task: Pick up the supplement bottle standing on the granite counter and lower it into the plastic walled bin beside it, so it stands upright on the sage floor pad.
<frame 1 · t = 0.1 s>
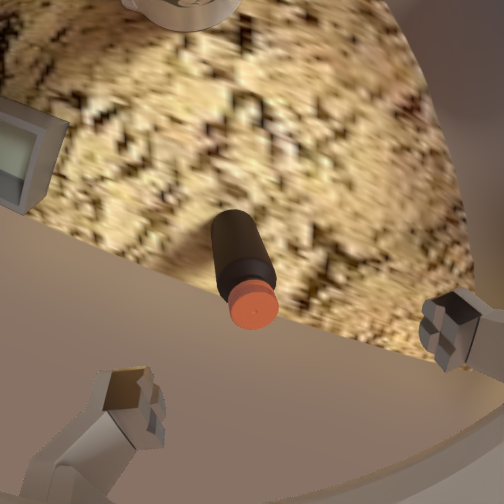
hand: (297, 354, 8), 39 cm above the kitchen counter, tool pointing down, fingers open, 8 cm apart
vinegar: (232, 228, 49), on the kitchen counter
walled bin: (16, 143, 36), on the kitchen counter
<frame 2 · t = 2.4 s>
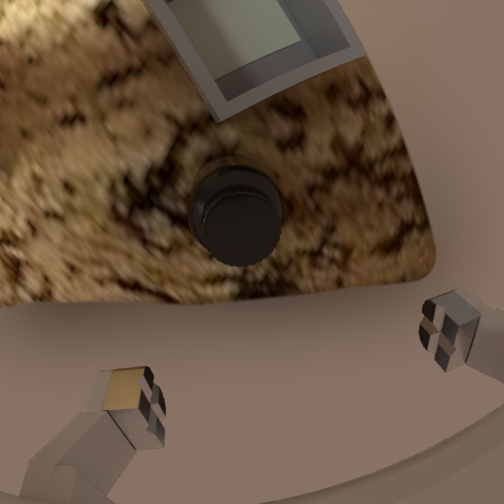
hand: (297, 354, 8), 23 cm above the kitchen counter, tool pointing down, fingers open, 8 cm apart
supplement bottle: (228, 189, 30), on the kitchen counter
walled bin: (232, 22, 24), on the kitchen counter
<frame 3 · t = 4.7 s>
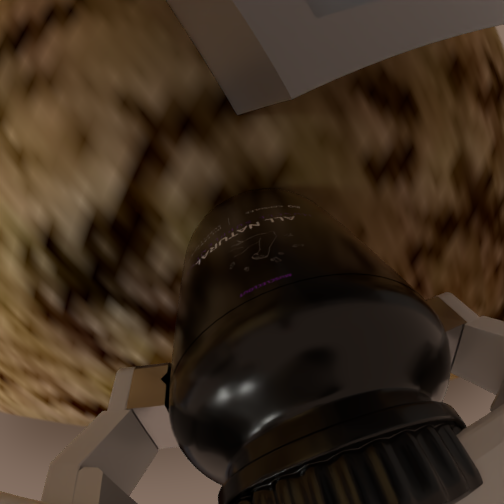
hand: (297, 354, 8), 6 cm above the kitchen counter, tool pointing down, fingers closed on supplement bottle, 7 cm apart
supplement bottle: (261, 261, 14), on the kitchen counter, touching gripper
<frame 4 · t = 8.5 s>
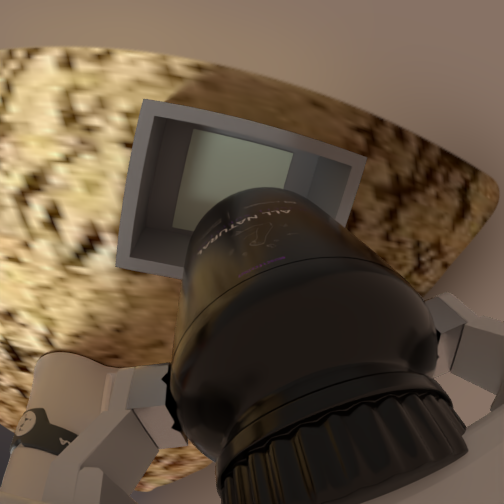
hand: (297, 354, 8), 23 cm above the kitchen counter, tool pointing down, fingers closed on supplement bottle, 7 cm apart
supplement bottle: (259, 257, 15), point 16 cm above the kitchen counter, touching gripper
walled bin: (230, 187, 29), on the kitchen counter
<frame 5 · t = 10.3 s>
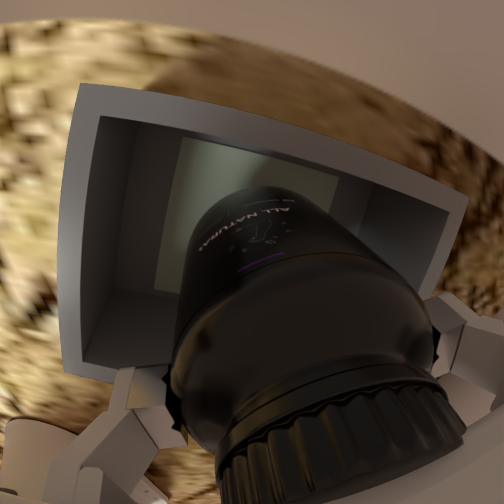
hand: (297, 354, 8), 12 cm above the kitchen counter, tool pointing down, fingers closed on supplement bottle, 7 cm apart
supplement bottle: (258, 255, 15), point 5 cm above the kitchen counter, touching gripper
walled bin: (241, 227, 19), on the kitchen counter
when the fingers open (9 cm above the kitchen counter, at t = 12.0 s): supplement bottle stays where it is, resting on walled bin.
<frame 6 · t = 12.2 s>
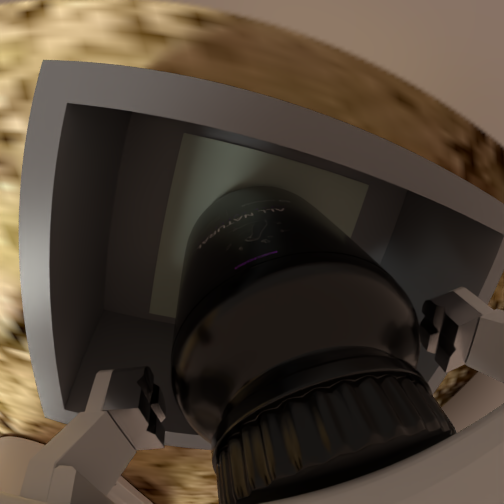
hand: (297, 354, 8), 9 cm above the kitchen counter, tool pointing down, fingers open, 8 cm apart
supplement bottle: (255, 253, 15), point 1 cm above the kitchen counter, touching walled bin
walled bin: (253, 241, 16), on the kitchen counter
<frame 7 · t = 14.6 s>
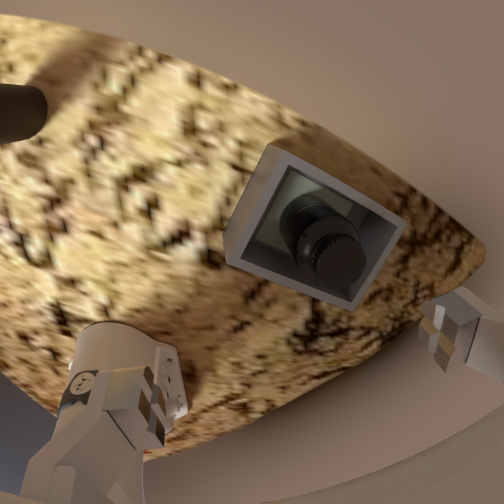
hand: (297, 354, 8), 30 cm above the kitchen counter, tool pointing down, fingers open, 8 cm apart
supplement bottle: (304, 221, 38), point 1 cm above the kitchen counter, touching walled bin
vinegar: (27, 113, 29), on the kitchen counter
walled bin: (303, 217, 39), on the kitchen counter
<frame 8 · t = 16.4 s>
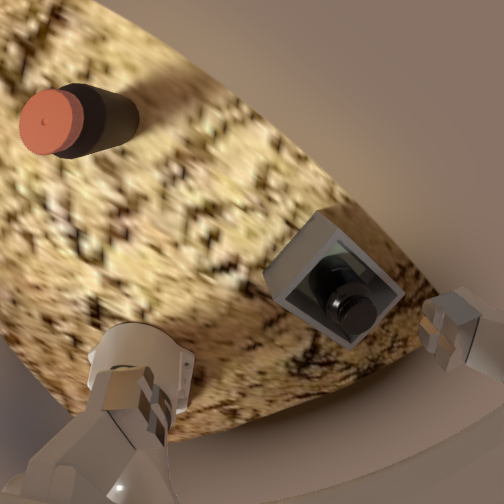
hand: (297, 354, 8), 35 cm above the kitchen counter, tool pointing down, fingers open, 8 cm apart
supplement bottle: (327, 275, 48), point 1 cm above the kitchen counter, touching walled bin
vinegar: (115, 120, 36), on the kitchen counter
walled bin: (326, 271, 49), on the kitchen counter
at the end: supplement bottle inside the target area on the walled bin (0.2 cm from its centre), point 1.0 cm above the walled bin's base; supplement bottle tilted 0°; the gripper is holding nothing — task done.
